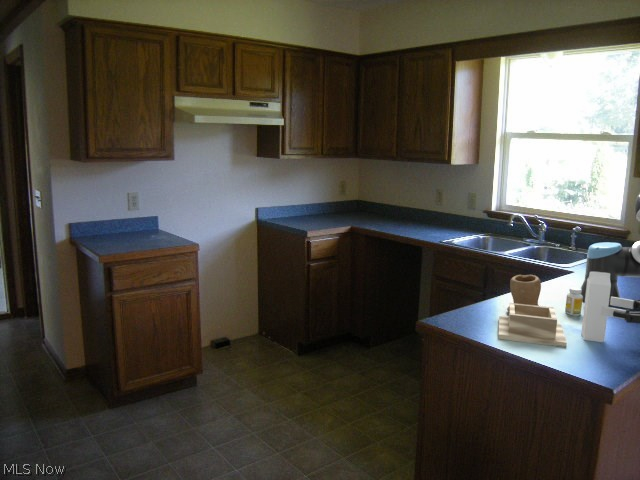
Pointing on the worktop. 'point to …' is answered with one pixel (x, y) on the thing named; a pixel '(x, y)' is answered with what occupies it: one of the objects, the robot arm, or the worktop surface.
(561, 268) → the worktop surface
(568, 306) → the supplement bottle
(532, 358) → the worktop surface
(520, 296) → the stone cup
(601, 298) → the milk
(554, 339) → the wooden stepped stand
